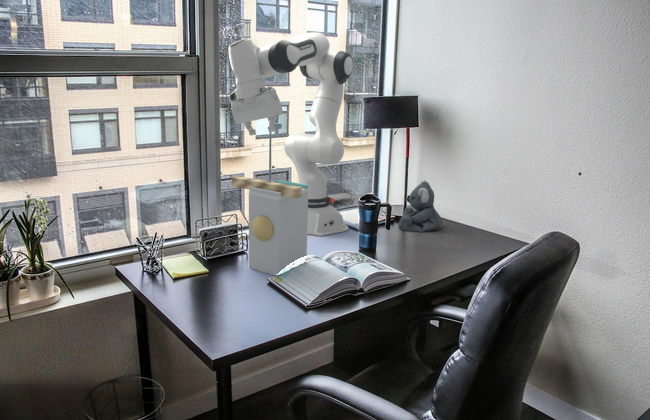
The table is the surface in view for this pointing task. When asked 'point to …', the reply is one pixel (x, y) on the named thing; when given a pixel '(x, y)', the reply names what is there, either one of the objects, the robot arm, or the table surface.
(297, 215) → the grey box with disc
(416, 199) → the koala plush
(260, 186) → the maple shaft
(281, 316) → the table surface
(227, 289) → the table surface
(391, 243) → the table surface
